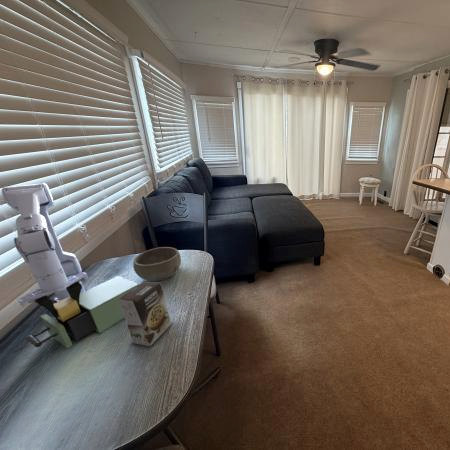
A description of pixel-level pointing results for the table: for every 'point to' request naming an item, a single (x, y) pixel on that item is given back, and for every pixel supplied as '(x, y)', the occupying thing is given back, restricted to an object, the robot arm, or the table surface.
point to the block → (67, 308)
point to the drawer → (65, 328)
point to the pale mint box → (106, 301)
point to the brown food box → (145, 312)
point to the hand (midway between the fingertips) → (66, 311)
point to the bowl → (157, 263)
